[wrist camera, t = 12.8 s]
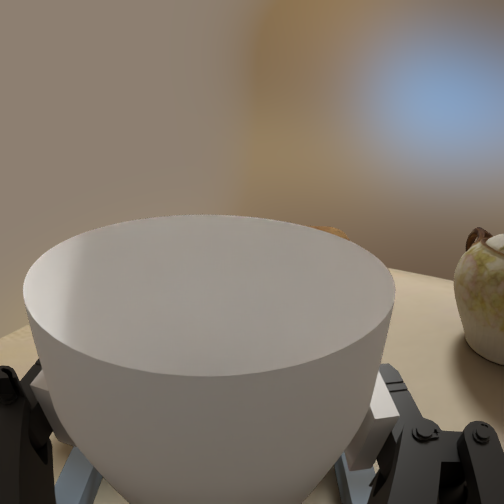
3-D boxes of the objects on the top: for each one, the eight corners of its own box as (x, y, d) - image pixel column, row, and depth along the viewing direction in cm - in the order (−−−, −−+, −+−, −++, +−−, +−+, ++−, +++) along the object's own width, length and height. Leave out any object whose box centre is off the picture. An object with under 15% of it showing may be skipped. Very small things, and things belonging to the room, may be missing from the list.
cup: (144, 589, 6) (-54, 403, 2) (114, 441, 14) (60, 222, 10) (346, 534, 9) (482, 306, 5) (267, 415, 17) (287, 210, 13)
